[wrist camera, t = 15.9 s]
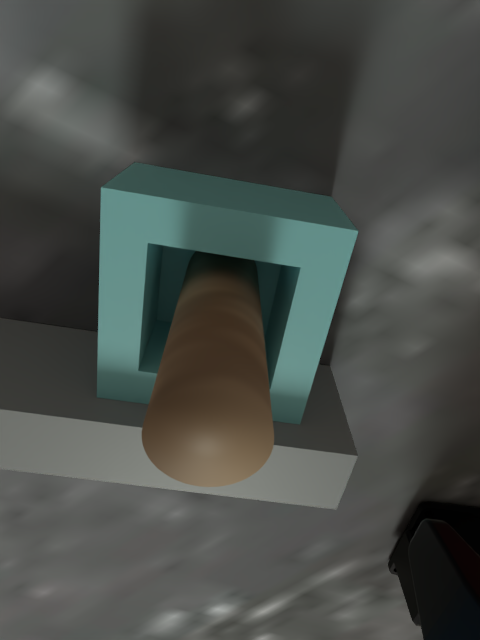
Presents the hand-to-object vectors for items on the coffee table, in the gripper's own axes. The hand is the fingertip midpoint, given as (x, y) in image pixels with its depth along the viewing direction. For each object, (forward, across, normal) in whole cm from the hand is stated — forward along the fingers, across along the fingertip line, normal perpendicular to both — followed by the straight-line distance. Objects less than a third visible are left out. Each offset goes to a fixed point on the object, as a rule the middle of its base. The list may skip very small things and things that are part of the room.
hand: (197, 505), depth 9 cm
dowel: (+12, 0, 0) cm, 12 cm away
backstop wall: (+12, +3, +6) cm, 14 cm away
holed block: (+13, 0, 0) cm, 13 cm away
